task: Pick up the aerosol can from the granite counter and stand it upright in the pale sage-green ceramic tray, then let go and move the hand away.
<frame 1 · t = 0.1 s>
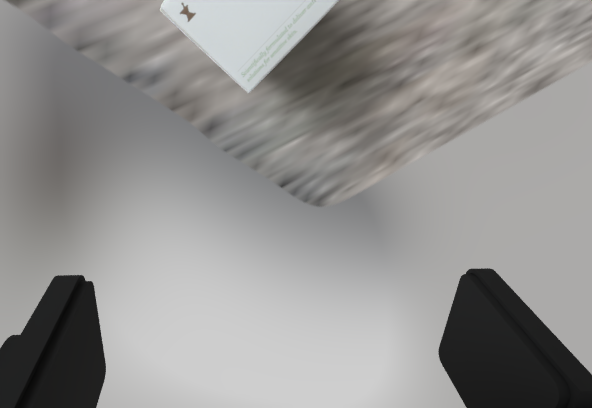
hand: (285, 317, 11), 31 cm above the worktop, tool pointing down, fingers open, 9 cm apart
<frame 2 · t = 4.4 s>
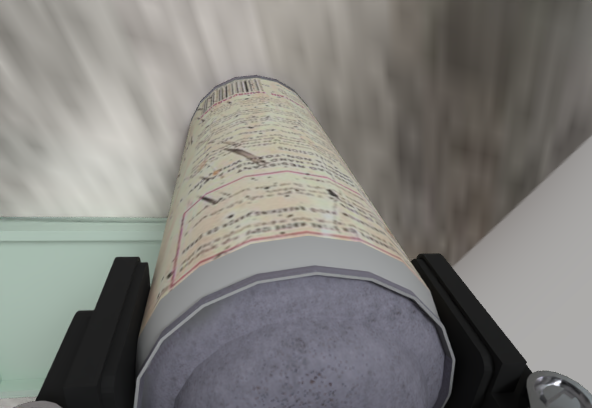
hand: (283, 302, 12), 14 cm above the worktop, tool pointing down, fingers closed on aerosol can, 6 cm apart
tray: (85, 304, 27), on the worktop
aerosol can: (253, 138, 24), on the worktop, touching gripper
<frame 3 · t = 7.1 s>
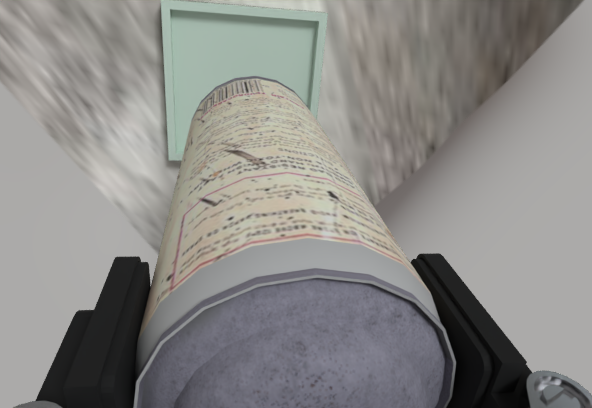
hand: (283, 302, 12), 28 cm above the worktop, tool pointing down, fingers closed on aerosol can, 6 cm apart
tray: (243, 86, 36), on the worktop
aerosol can: (253, 138, 24), point 14 cm above the worktop, touching gripper
when the fingers open (15 cm above the worktop, at t = 10.1 s): aerosol can stays where it is, resting on tray.
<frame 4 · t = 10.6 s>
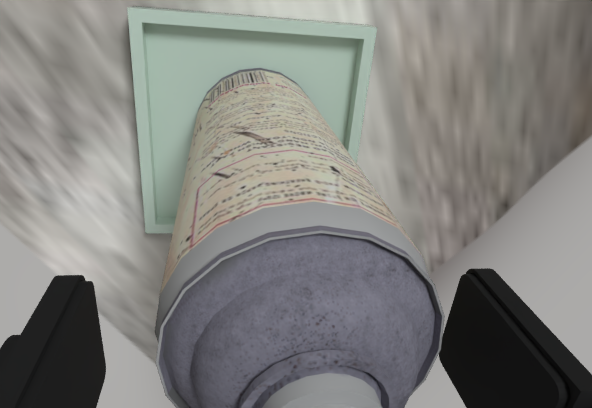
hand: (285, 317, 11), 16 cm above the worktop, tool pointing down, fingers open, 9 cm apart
tray: (251, 129, 25), on the worktop
aerosol can: (257, 128, 25), resting on tray
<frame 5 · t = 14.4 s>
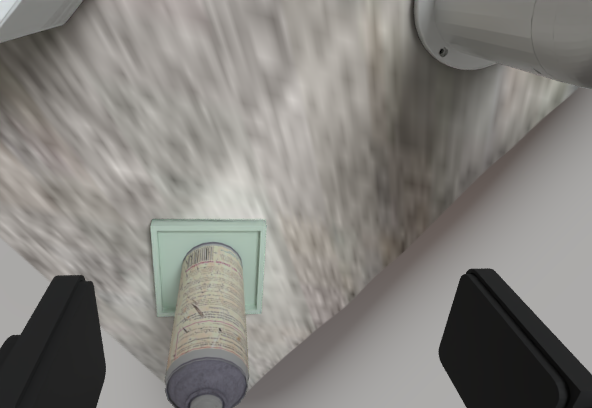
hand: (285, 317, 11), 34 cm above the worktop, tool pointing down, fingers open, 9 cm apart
tray: (210, 265, 51), on the worktop
aerosol can: (212, 266, 50), resting on tray
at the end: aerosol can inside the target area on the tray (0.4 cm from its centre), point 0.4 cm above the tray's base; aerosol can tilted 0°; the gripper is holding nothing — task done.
